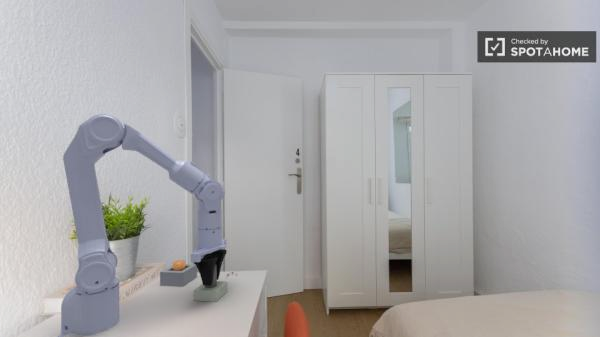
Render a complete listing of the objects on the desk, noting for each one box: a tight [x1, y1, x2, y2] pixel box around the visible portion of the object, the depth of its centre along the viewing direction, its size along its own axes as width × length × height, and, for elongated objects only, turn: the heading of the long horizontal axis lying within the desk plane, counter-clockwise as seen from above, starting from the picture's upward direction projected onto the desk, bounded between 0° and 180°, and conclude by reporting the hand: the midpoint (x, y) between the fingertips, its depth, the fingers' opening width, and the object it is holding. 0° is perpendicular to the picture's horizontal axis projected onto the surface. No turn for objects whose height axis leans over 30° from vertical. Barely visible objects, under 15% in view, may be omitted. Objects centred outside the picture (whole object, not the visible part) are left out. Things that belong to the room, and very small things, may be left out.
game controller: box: [225, 271, 238, 280], centre depth 80 cm, size 6×12×3 cm, turn 100°
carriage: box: [192, 264, 229, 303], centre depth 67 cm, size 6×6×7 cm
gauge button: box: [172, 259, 186, 271], centre depth 77 cm, size 3×3×4 cm
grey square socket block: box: [159, 263, 198, 287], centre depth 77 cm, size 7×7×5 cm
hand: (210, 282), depth 67 cm, fingers closed on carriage, 3 cm apart
